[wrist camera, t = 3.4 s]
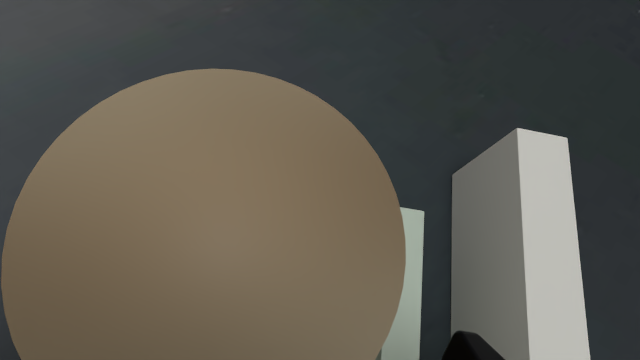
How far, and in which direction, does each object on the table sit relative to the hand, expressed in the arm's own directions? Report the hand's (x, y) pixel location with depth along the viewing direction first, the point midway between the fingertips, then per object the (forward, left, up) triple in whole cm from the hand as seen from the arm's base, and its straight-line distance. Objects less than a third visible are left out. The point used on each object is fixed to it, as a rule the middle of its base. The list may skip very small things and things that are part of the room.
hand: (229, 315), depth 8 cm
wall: (-4, -9, -9) cm, 13 cm away
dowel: (+1, 0, -9) cm, 9 cm away
